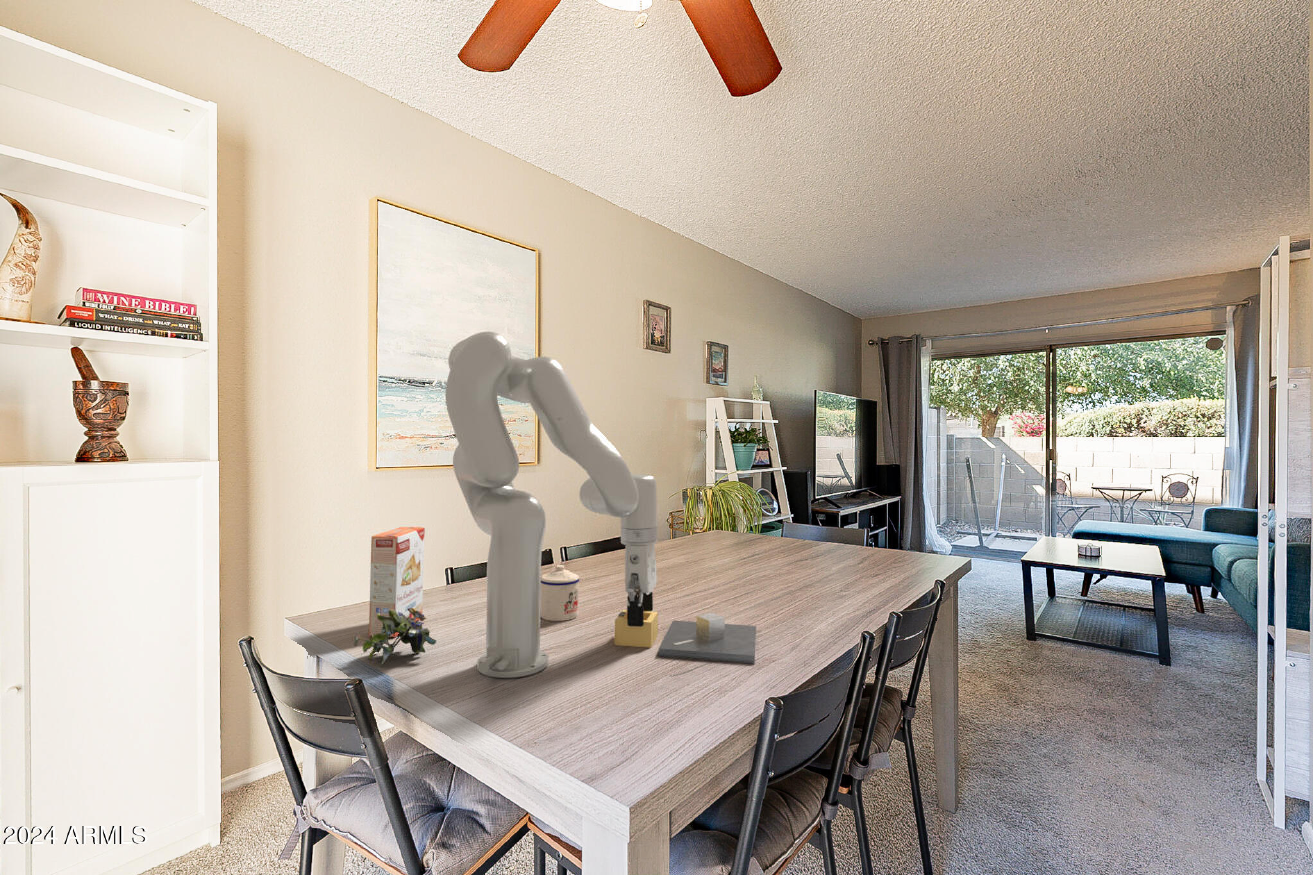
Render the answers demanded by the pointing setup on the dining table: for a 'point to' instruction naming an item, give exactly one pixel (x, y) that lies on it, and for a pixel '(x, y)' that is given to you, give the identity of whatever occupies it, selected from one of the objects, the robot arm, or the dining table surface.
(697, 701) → the dining table surface
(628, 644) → the collar
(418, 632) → the passion flower
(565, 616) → the teacup with lid
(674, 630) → the post plate
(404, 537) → the cracker box
